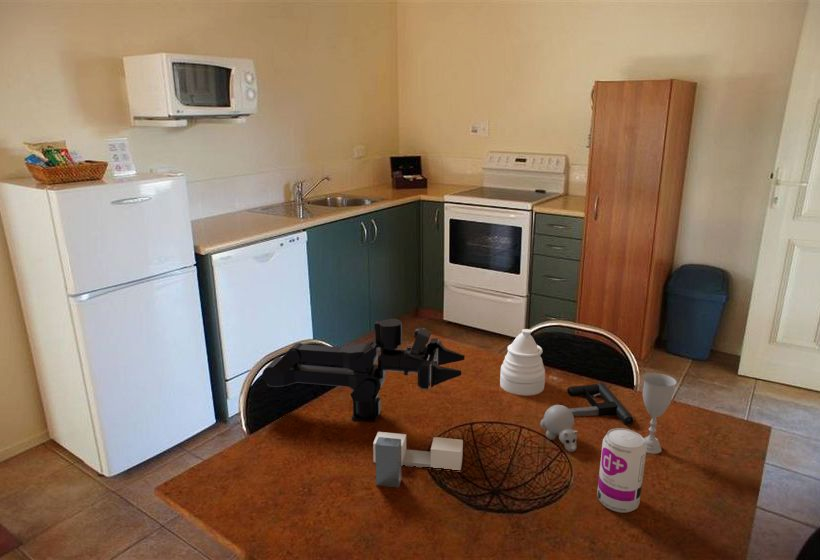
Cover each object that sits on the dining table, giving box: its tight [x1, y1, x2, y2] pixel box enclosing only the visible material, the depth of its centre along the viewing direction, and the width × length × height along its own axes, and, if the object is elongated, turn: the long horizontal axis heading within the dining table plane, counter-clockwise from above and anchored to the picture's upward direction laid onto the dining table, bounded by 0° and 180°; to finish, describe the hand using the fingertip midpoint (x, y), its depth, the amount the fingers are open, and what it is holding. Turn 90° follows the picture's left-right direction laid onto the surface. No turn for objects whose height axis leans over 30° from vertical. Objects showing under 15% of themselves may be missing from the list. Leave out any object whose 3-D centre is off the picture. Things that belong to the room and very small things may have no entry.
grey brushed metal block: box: [375, 437, 402, 489], centre depth 123 cm, size 5×3×10 cm, turn 80°
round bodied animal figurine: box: [539, 404, 579, 453], centre depth 138 cm, size 7×12×8 cm, turn 13°
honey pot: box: [499, 328, 546, 396], centre depth 166 cm, size 13×13×18 cm
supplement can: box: [596, 427, 647, 513], centre depth 116 cm, size 8×8×15 cm
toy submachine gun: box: [566, 382, 636, 426], centre depth 156 cm, size 3×20×16 cm
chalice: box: [641, 372, 678, 455], centre depth 135 cm, size 7×7×18 cm
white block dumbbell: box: [372, 431, 464, 471], centre depth 131 cm, size 20×5×5 cm, turn 80°
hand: (463, 365), depth 143 cm, fingers open, 9 cm apart
